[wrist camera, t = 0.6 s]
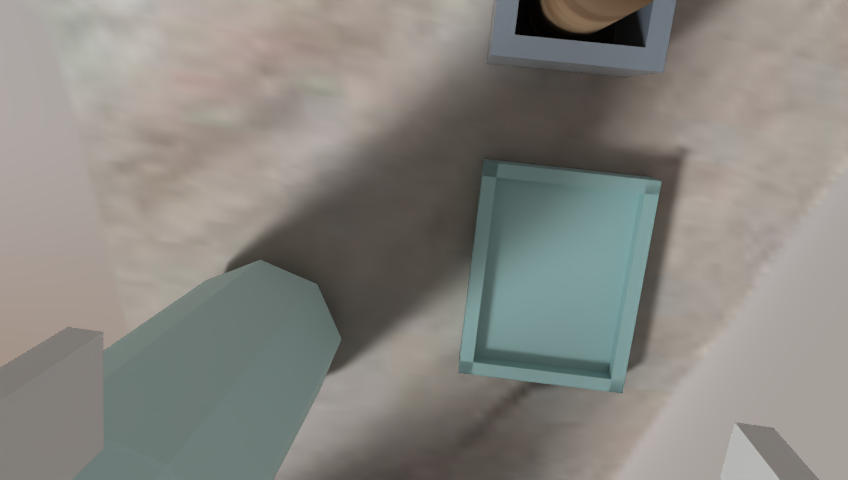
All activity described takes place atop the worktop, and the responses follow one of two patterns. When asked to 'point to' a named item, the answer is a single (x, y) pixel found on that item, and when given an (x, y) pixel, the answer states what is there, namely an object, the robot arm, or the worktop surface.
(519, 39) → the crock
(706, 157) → the worktop surface
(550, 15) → the dowel
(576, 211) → the tray
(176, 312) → the water bottle
